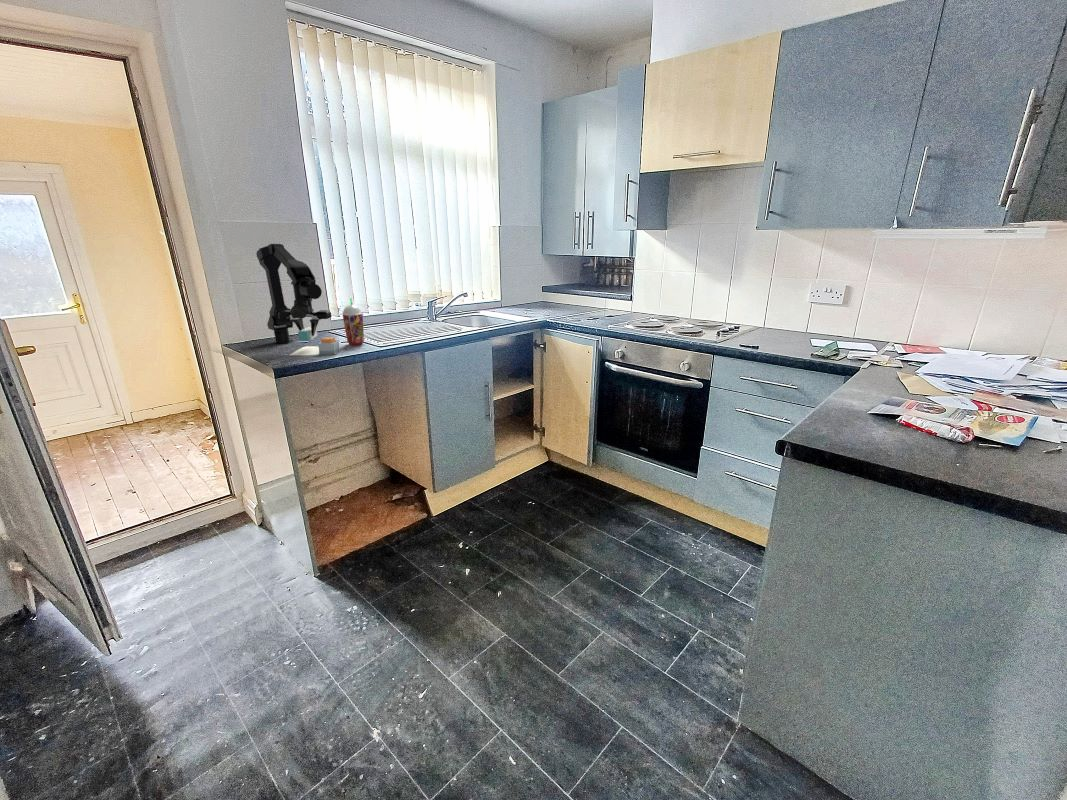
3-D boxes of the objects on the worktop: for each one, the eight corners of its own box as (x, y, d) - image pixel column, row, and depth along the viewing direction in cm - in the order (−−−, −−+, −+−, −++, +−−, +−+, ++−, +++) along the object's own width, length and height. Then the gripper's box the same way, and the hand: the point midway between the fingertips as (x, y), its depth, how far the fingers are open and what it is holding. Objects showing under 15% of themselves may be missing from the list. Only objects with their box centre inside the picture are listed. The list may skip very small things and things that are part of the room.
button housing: (324, 351, 191) (323, 340, 189) (339, 351, 191) (338, 340, 190) (319, 354, 185) (318, 343, 184) (335, 354, 186) (333, 343, 184)
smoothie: (364, 346, 201) (359, 299, 194) (344, 346, 199) (338, 299, 193) (367, 342, 208) (362, 297, 202) (348, 342, 207) (342, 297, 201)
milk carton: (308, 335, 194) (307, 327, 193) (317, 335, 195) (316, 327, 193) (299, 340, 185) (297, 331, 184) (308, 340, 185) (307, 331, 184)
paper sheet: (304, 346, 199) (304, 346, 198) (330, 346, 199) (330, 346, 199) (288, 355, 183) (288, 355, 183) (317, 355, 184) (317, 355, 184)
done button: (325, 344, 189) (324, 337, 188) (335, 344, 189) (334, 337, 188) (321, 346, 185) (320, 339, 184) (332, 346, 186) (331, 339, 185)
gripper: (268, 299, 176) (275, 339, 181) (319, 299, 177) (325, 339, 183) (281, 295, 186) (287, 334, 192) (329, 296, 188) (334, 334, 193)
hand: (308, 335), depth 189 cm, fingers closed on milk carton, 4 cm apart
